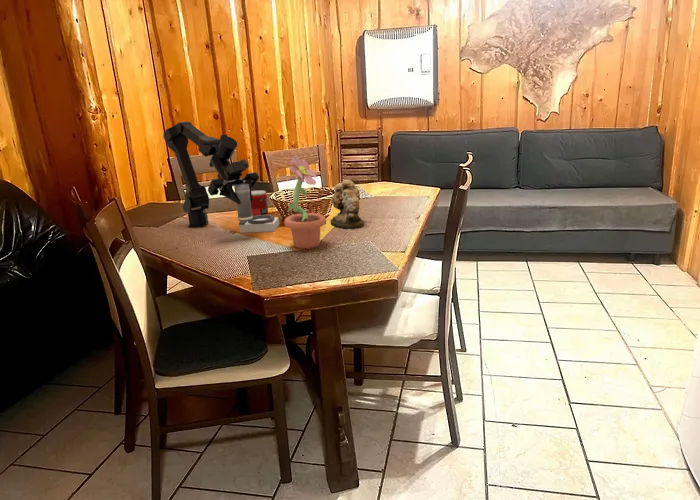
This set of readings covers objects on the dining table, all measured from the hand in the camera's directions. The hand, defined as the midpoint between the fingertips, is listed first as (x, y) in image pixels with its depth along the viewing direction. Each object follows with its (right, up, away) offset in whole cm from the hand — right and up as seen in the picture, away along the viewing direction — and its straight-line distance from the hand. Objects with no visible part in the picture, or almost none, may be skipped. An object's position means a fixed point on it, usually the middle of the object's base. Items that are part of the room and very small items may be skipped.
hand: (245, 202), depth 174 cm
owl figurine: (+35, -7, +18) cm, 40 cm away
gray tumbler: (-1, -6, +3) cm, 7 cm away
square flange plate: (+2, -8, +17) cm, 19 cm away
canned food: (-1, -4, +34) cm, 34 cm away
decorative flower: (+22, -16, -8) cm, 28 cm away
